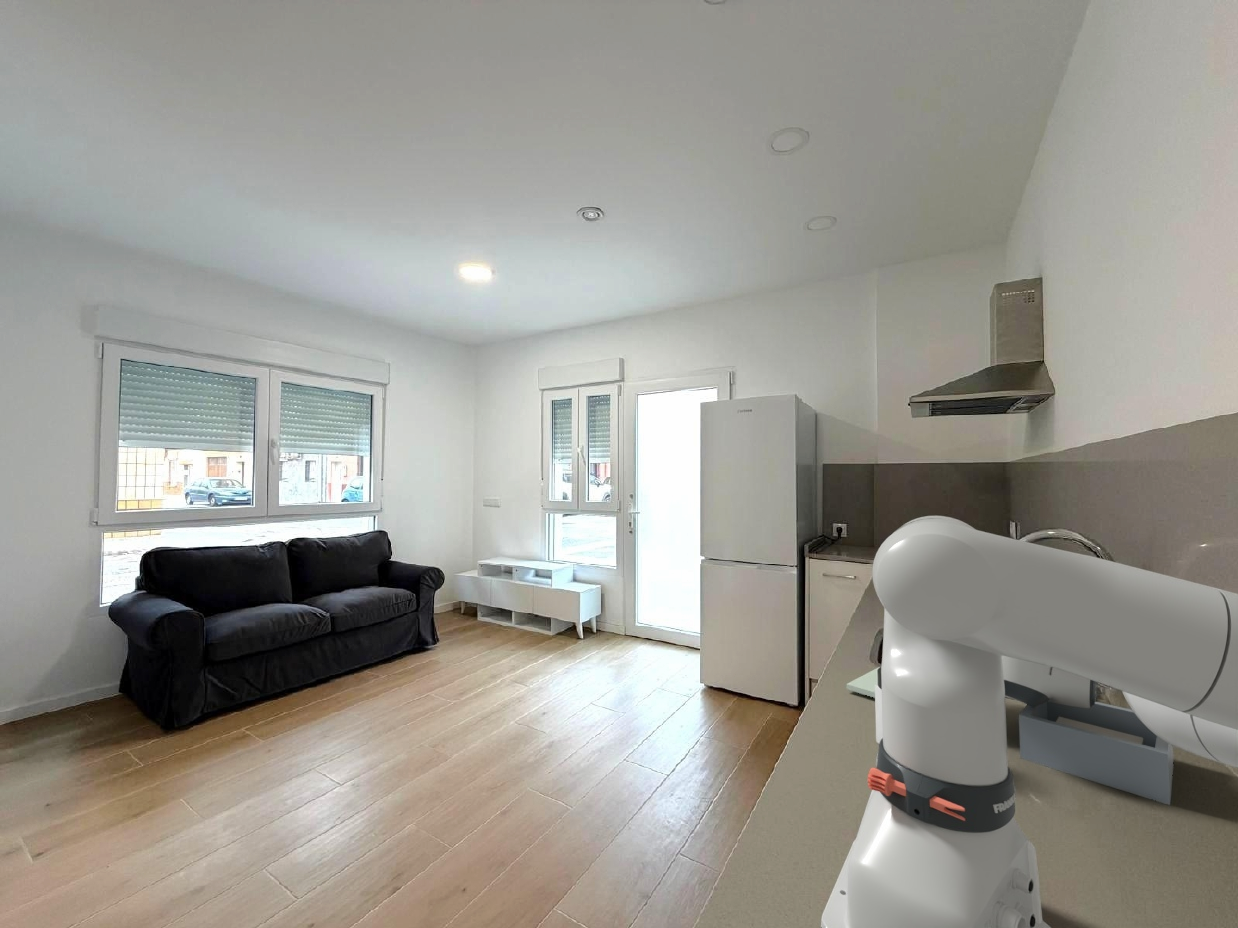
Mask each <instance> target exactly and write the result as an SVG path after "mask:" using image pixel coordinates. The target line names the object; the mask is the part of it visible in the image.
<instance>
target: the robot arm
mask: <svg viewBox="0 0 1238 928" xmlns="http://www.w3.org/2000/svg"><path fill="white" fill-rule="evenodd" d="M871 571H872V572H871V573H872V574H871V575H872V583H873V587H874V590H875V593H876V595H877V597H878V599H879V601H880V603H881V605H882V606H883V610H884V614H883V615H884V616H883V634H882V635H883V636H882V637H883V638H882V639H883V641H882V655H881V657H882V658H881V666H880V667H881V682H882V724H883V738H882V739H881V741H880V743H879V744H878V749H877V750H878V752H877V754H876V758H875V767H871V768H870V770H869V771H868V776H867V786H868V788H869V789H870V790H871V792H870V795H869V798H868V801H867V803H866V806H865V810H864V814H863V816H862V819H861V822H860V826H859V828H858V831H857V834H856V838H855V839H854V840H853V842H852V844H851V847H850V849H849V852H848V854H847V856H846V858H845V861H844V863H843V865H842V868H841V870H840V873H839V875H838V877H837V880H836V881H835V884H834V886H833V888H832V892H831V893H830V896H829V898H828V901H827V903H826V905H825V908H824V910H823V912H822V914H821V920H820V928H821V927H822V928H1052V927H1051V926H1050V925H1048V924H1047V922H1045V921H1044V920H1043V912H1042V902H1041V891H1040V890H1041V888H1040V878H1039V870H1038V869H1039V868H1038V859H1037V857H1038V856H1037V850H1036V846H1035V845H1034V844H1033V843H1032V841H1031V840H1030V839H1029V838H1028V837H1027V836H1026V833H1024V832H1023V829H1021V828H1020V826H1019V824H1018V822H1017V821H1016V819H1015V814H1016V800H1017V799H1016V798H1017V795H1016V794H1017V792H1016V791H1017V789H1016V785H1015V783H1014V775H1013V771H1012V769H1010V767H1009V765H1008V741H1007V740H1008V739H1007V709H1006V699H1008V700H1009V699H1010V700H1014V701H1016V702H1021V703H1024V704H1025V705H1027V704H1028V705H1029V706H1032V707H1036V706H1038V705H1041V704H1043V703H1045V702H1047V701H1048V702H1053V703H1057V704H1062V705H1067V706H1073V707H1080V708H1091V707H1092V706H1093V705H1094V704H1095V702H1097V696H1098V684H1101V685H1103V686H1107V687H1110V688H1113V689H1115V690H1118V691H1121V692H1122V694H1123V696H1124V698H1125V700H1126V703H1127V704H1128V706H1129V707H1130V709H1131V710H1133V712H1134V713H1135V714H1136V716H1137V717H1138V718H1139V719H1140V720H1141V722H1142V723H1143V724H1144V725H1145V726H1146V727H1147V728H1148V729H1149V730H1150V731H1152V732H1153V733H1154V734H1155V735H1156V736H1158V737H1159V738H1161V739H1162V740H1164V741H1165V742H1167V743H1169V744H1171V745H1173V746H1174V747H1175V748H1178V749H1180V750H1183V751H1185V752H1188V753H1190V754H1193V755H1195V756H1198V757H1201V758H1204V759H1207V760H1210V761H1213V762H1215V763H1219V764H1222V765H1224V766H1228V767H1232V768H1236V769H1238V593H1236V592H1232V591H1229V590H1225V589H1221V588H1217V587H1213V586H1209V585H1206V584H1201V583H1198V582H1193V581H1190V580H1187V579H1181V578H1179V577H1178V578H1177V577H1174V576H1171V575H1168V574H1162V573H1160V572H1159V573H1158V572H1155V571H1151V570H1147V569H1143V568H1139V567H1135V566H1131V565H1127V564H1123V563H1121V562H1115V561H1112V560H1108V559H1104V558H1100V557H1096V556H1092V555H1088V554H1082V553H1078V552H1072V551H1068V550H1063V549H1058V548H1054V547H1051V546H1046V545H1041V544H1036V543H1032V542H1028V541H1025V540H1021V539H1020V540H1019V539H1015V538H1011V537H1007V536H1003V535H998V534H995V533H990V532H987V531H986V532H985V531H983V530H978V529H976V528H974V527H973V526H972V525H969V523H966V522H964V521H962V520H960V519H956V518H954V517H950V516H944V515H926V516H921V517H917V518H914V519H911V520H909V521H908V522H906V523H903V525H901V526H900V527H899V528H897V529H896V530H894V532H892V534H891V535H889V536H888V537H887V538H886V539H885V540H884V541H883V542H882V543H881V545H880V547H878V549H877V551H876V553H875V556H874V559H873V564H872V570H871Z"/></svg>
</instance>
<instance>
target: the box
mask: <svg viewBox="0 0 1238 928" xmlns="http://www.w3.org/2000/svg"><path fill="white" fill-rule="evenodd" d="M1018 727H1019V729H1018V730H1019V732H1018V733H1019V753H1020V754H1019V756H1020V758H1019V759H1021V760H1025V761H1027V762H1031V763H1034V764H1037V765H1041V766H1044V767H1047V768H1050V769H1053V770H1056V771H1060V772H1063V773H1066V774H1069V775H1072V776H1076V777H1078V778H1081V779H1086V780H1088V781H1090V782H1094V783H1098V784H1101V785H1104V786H1107V787H1110V788H1114V789H1118V790H1120V791H1124V792H1127V793H1130V794H1133V795H1136V796H1139V797H1143V798H1146V799H1148V800H1151V799H1153V800H1152V801H1155V800H1156V801H1155V802H1158V803H1162V804H1164V805H1167V804H1168V806H1171V798H1172V787H1173V776H1172V775H1173V773H1174V764H1173V762H1174V747H1173V745H1171V744H1169V743H1167V742H1165V741H1164V740H1162V739H1161V738H1159V737H1158V736H1156V735H1155V734H1154V733H1153V732H1152V731H1150V730H1149V729H1148V728H1147V727H1146V726H1145V725H1144V724H1143V723H1142V722H1141V720H1140V719H1139V718H1138V717H1137V716H1136V714H1135V713H1134V712H1133V710H1132V709H1131V708H1125V707H1121V706H1116V705H1112V704H1108V703H1105V702H1099V701H1096V702H1095V704H1094V705H1093V706H1092V707H1091V708H1080V707H1073V706H1067V705H1062V704H1057V703H1053V702H1048V701H1047V702H1045V703H1043V704H1041V705H1038V706H1036V707H1032V706H1029V705H1028V704H1025V706H1024V708H1023V709H1022V710H1021V712H1020V713H1019V714H1018Z"/></svg>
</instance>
